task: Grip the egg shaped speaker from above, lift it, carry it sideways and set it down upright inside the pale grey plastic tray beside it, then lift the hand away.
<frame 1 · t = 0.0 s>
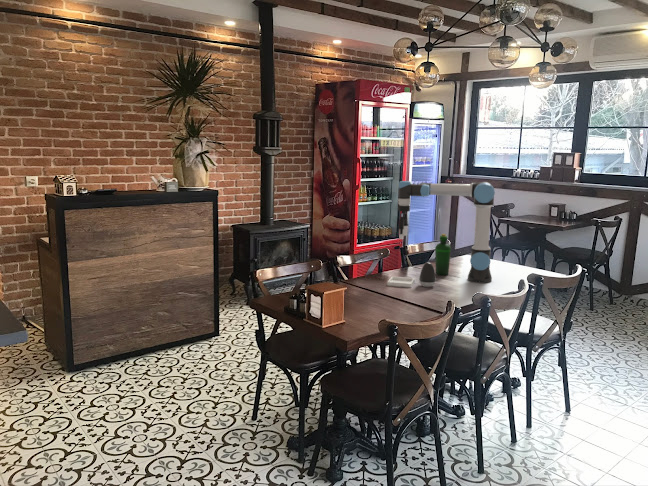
hand: (403, 237, 342), 28 cm above the table, tool pointing down, fingers open, 13 cm apart
egg shaped speaker: (427, 286, 330), on the table
tray: (401, 283, 335), on the table
bottle: (442, 274, 360), on the table
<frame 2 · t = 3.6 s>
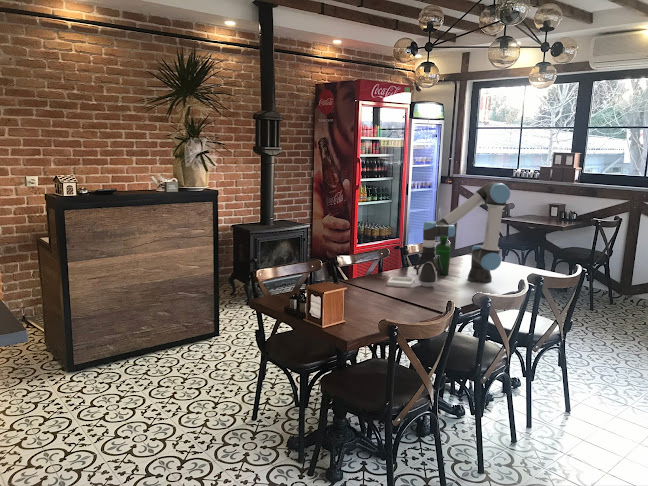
hand: (427, 280, 329), 3 cm above the table, tool pointing down, fingers closed on egg shaped speaker, 10 cm apart
egg shaped speaker: (427, 286, 330), on the table, touching gripper
everything else where it was.
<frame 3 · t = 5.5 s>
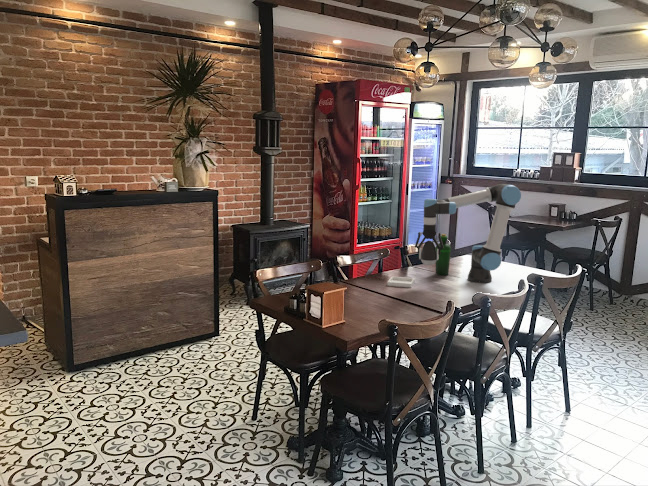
hand: (428, 259, 327), 17 cm above the table, tool pointing down, fingers closed on egg shaped speaker, 10 cm apart
egg shaped speaker: (428, 264, 328), point 14 cm above the table, touching gripper
everything else where it was.
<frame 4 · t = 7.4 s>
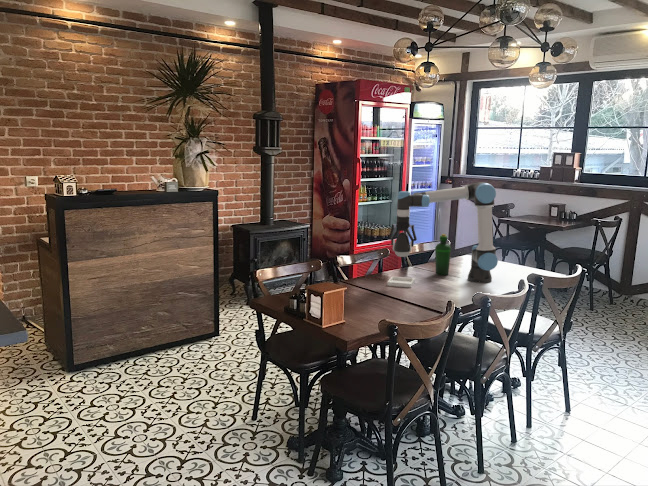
hand: (402, 250, 331), 21 cm above the table, tool pointing down, fingers closed on egg shaped speaker, 10 cm apart
egg shaped speaker: (402, 256, 332), point 18 cm above the table, touching gripper
everything else where it was.
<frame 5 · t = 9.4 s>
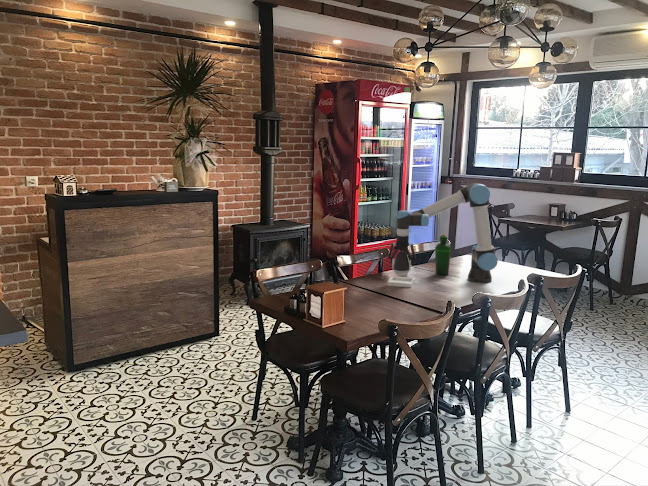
hand: (401, 269, 333), 9 cm above the table, tool pointing down, fingers closed on egg shaped speaker, 10 cm apart
egg shaped speaker: (401, 274, 334), point 6 cm above the table, touching gripper
everything else where it was.
when the fingers open (5 cm above the table, at t = 11.3 s): egg shaped speaker drops 1 cm, resting on tray.
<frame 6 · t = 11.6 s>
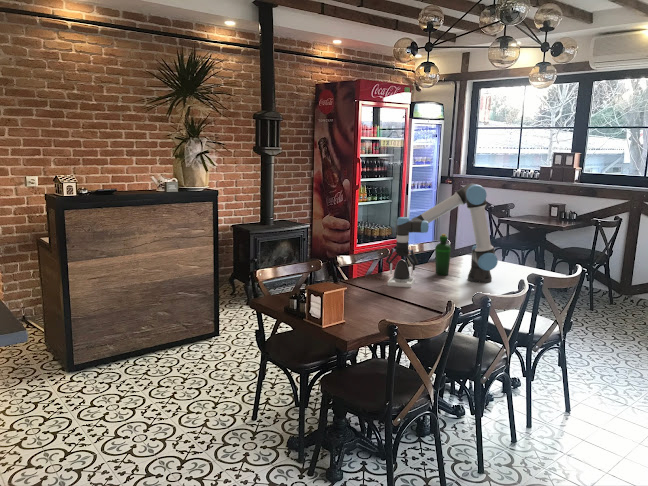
hand: (401, 274, 334), 6 cm above the table, tool pointing down, fingers open, 13 cm apart
egg shaped speaker: (401, 283, 335), resting on tray
everything else where it was.
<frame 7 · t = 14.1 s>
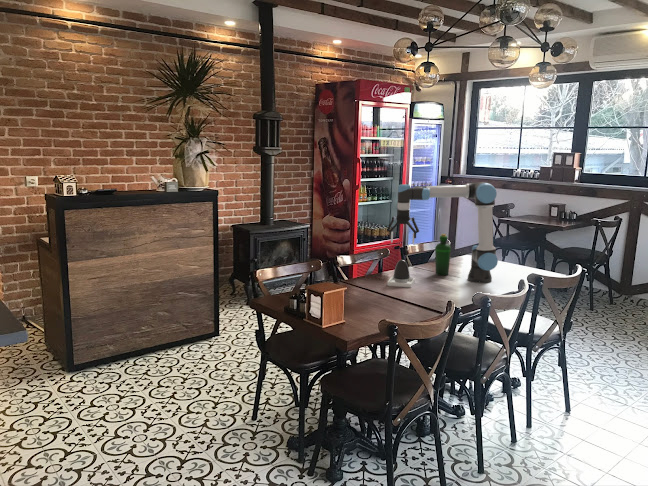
hand: (402, 242, 330), 27 cm above the table, tool pointing down, fingers open, 13 cm apart
nothing on the table moved.
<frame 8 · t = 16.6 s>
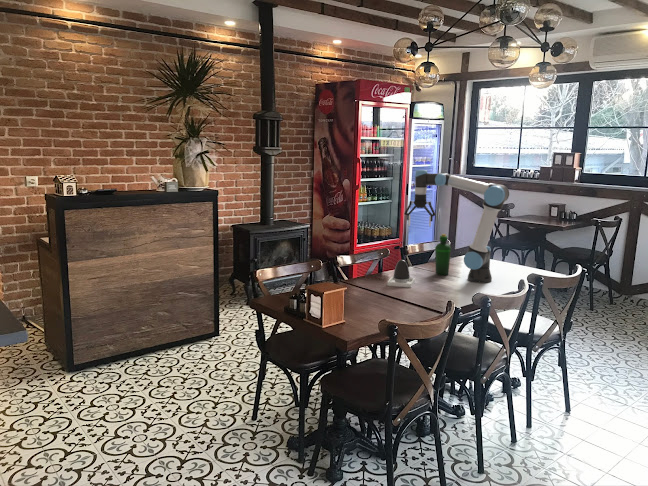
hand: (419, 225, 347), 35 cm above the table, tool pointing down, fingers open, 13 cm apart
nothing on the table moved.
at the end: egg shaped speaker 0.1 cm off-centre on the tray, point 0.4 cm above the tray's base; egg shaped speaker tilted 0°; the gripper is holding nothing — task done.
